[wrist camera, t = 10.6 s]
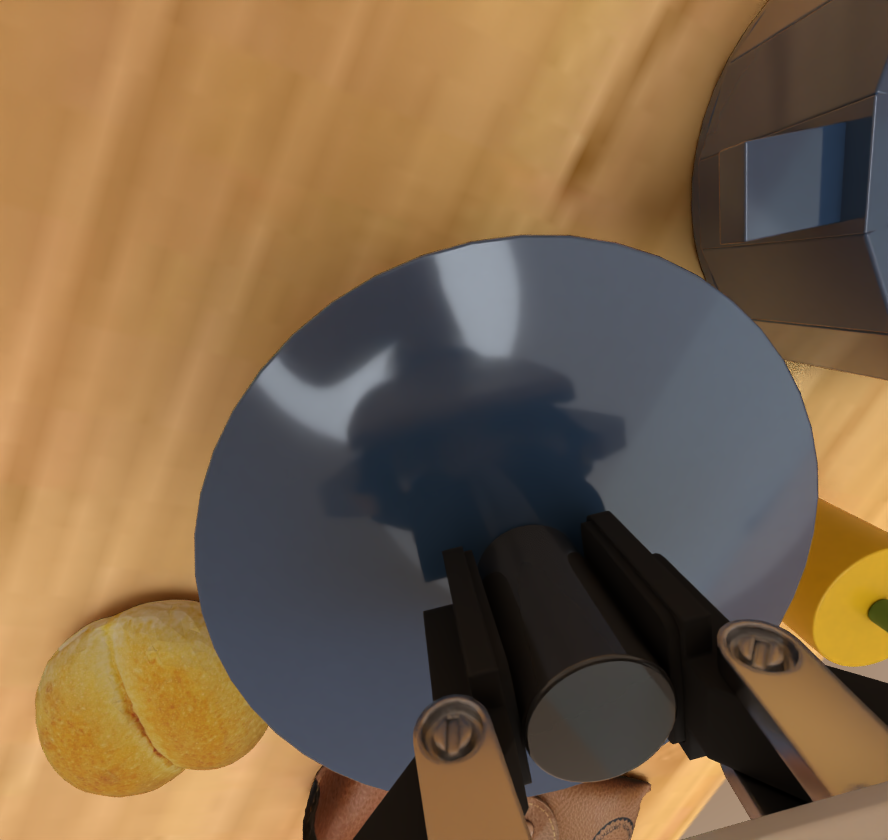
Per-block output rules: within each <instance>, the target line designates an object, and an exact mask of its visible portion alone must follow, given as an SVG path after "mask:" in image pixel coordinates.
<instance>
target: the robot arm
mask: <svg viewBox="0 0 888 840" xmlns="http://www.w3.org/2000/svg"><path fill="white" fill-rule="evenodd" d="M581 535H582V543H583V551H584V559H585V560H586V561H587V563H588V564H589V566H590V567H591V568H592V570H593V571H594V573H595V574H596V575H597V577H598V578H599V579H600V581H601V582H602V584H603V585H604V586H605V588H606V589H607V591H608V592H609V593H610V595H611V596H612V598H613V599H614V600H615V602H616V603H617V604H618V606H619V607H620V609H621V610H622V611H623V613H624V614H625V616H626V617H627V618H628V620H629V621H630V622H631V624H632V625H633V627H634V628H635V629H636V631H637V632H638V634H639V635H640V636H641V638H642V639H643V640H644V642H645V643H646V645H647V646H648V647H649V649H650V650H651V652H652V653H653V654H654V656H655V657H656V658H657V660H658V661H659V663H660V664H661V665H662V667H663V668H664V670H665V671H666V672H667V674H668V675H669V677H670V678H671V680H672V682H673V684H674V686H675V689H676V693H677V699H678V712H677V718H676V721H675V724H674V727H673V729H672V731H671V733H670V735H669V737H668V738H667V739H668V740H669V741H670V742H671V743H672V744H676V743H679V744H680V745H681V747H682V749H683V750H684V752H685V753H686V755H687V756H688V758H689V760H693V759H696V758H700V757H704V756H707V757H708V758H709V759H712V760H714V761H716V762H718V763H720V765H721V768H722V770H723V772H724V775H725V777H726V778H727V780H728V782H729V783H730V785H731V787H732V789H733V790H734V792H735V794H736V795H737V797H738V799H739V800H740V802H741V804H742V805H743V807H744V808H745V810H746V812H747V814H748V815H749V817H750V819H751V820H748V821H745V822H741V823H738V824H735V825H731V826H727V827H724V828H721V829H717V830H713V831H710V832H707V833H703V834H700V835H696V836H693V837H689V838H686V839H682V840H888V683H885V682H881V681H878V680H875V679H871V678H868V677H865V676H861V675H858V674H854V673H851V672H847V671H844V670H840V669H837V668H834V667H830V666H827V665H825V664H824V663H823V662H822V661H821V660H820V659H818V658H817V657H816V656H815V655H814V654H813V653H812V652H811V651H810V650H809V649H808V648H807V647H806V646H805V645H804V644H803V643H802V642H801V641H800V640H799V639H798V638H796V637H795V636H794V635H793V634H791V633H790V632H789V631H787V630H785V629H783V628H781V627H779V626H777V625H774V624H771V623H768V622H765V621H761V620H753V619H741V620H734V621H731V622H730V621H729V620H728V619H727V618H726V617H725V616H724V615H723V614H722V613H721V612H720V611H719V610H718V609H717V608H716V607H715V606H714V605H713V604H712V603H711V602H710V601H709V600H708V599H707V598H706V597H705V596H704V595H703V594H701V593H700V592H699V591H698V590H697V589H696V588H695V587H694V586H693V585H692V584H691V583H690V582H689V581H688V580H687V579H686V578H685V577H684V576H683V575H682V574H681V573H680V572H679V571H678V570H677V569H676V568H675V567H674V566H673V565H672V564H671V563H670V562H669V561H668V560H667V559H666V558H665V557H664V556H662V555H661V554H659V553H654V554H652V553H651V552H650V551H649V550H648V549H647V548H646V547H645V546H644V545H643V544H642V543H641V542H640V541H639V540H638V539H637V538H636V537H635V536H634V535H633V534H632V533H631V532H630V531H629V530H628V529H627V528H626V527H625V526H624V525H623V524H622V523H621V522H620V521H619V520H618V519H617V518H616V517H615V516H614V515H613V514H612V513H611V512H610V511H604V512H600V513H596V514H592V515H588V516H587V518H586V522H583V523H581ZM442 555H443V559H444V564H445V569H446V574H447V579H448V583H449V588H450V593H451V598H452V603H453V604H450V605H446V606H442V607H438V608H434V609H430V610H426V611H423V617H424V626H425V635H426V644H427V653H428V662H429V671H430V680H431V688H432V697H433V702H432V703H431V704H430V705H428V706H427V707H426V708H425V709H424V710H423V711H422V713H421V714H420V716H419V717H418V719H417V721H416V724H415V727H414V730H413V745H414V752H415V757H414V758H413V759H412V761H411V762H410V763H409V765H408V766H407V767H406V769H405V770H404V771H403V773H402V774H401V775H400V777H399V778H398V779H397V781H396V782H395V783H394V785H393V786H392V787H391V789H390V790H389V791H388V793H387V794H386V795H385V797H384V798H383V799H382V801H381V802H380V803H379V805H378V806H377V807H376V809H375V810H374V811H373V813H372V814H371V815H370V817H369V818H368V820H367V821H366V822H365V824H364V825H363V826H362V828H361V829H360V830H359V832H358V833H357V834H356V836H355V837H354V838H353V840H532V837H531V834H530V831H529V828H528V825H527V822H526V819H525V815H526V813H527V811H528V809H529V805H528V801H527V796H526V791H525V786H524V785H527V784H530V783H532V779H531V774H530V768H529V763H528V758H527V753H526V748H525V744H524V741H523V737H522V734H521V723H520V718H519V713H518V708H517V703H516V697H515V692H514V687H513V682H512V677H511V673H510V669H509V665H508V661H507V658H506V654H505V651H504V648H503V645H502V642H501V639H500V636H499V633H498V629H497V626H496V623H495V620H494V617H493V614H492V611H491V608H490V605H489V602H488V599H487V595H486V592H485V589H484V586H483V583H482V580H481V577H480V574H479V571H478V568H477V564H476V561H475V558H474V555H473V552H472V550H468V551H464V550H463V547H462V546H460V547H456V548H452V549H448V550H444V551H442Z"/></svg>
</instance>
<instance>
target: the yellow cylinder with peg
mask: <svg viewBox="0 0 888 840" xmlns="http://www.w3.org/2000/svg"><path fill="white" fill-rule="evenodd" d="M782 622H784V623H785V624H786V625H787V626H788V627H789V628H791V629H792V630H793V631H794V632H795V633H796V634H798V635H799V636H800V637H801V638H802V639H803V640H805V641H806V642H807V643H808V644H809V645H810V646H812V647H813V648H814V649H815V650H816V651H817V652H819V653H820V654H821V655H822V656H823V657H825V658H826V659H827V660H829V661H831V662H833V663H836V664H839V665H842V666H849V667H850V666H851V667H857V666H865V665H870V664H874V663H877V662H880V661H883V660H885V659H887V658H888V532H886V531H884V530H882V529H880V528H878V527H876V526H874V525H872V524H870V523H868V522H866V521H864V520H862V519H860V518H858V517H856V516H854V515H852V514H850V513H848V512H846V511H844V510H842V509H840V508H838V507H836V506H834V505H832V504H830V503H828V502H826V501H824V500H822V499H820V498H818V504H817V512H816V521H815V529H814V535H813V539H812V543H811V547H810V551H809V555H808V559H807V563H806V567H805V570H804V572H803V575H802V577H801V580H800V583H799V585H798V588H797V591H796V593H795V596H794V598H793V600H792V602H791V604H790V606H789V608H788V610H787V612H786V614H785V616H784V618H783V620H782Z"/></svg>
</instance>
